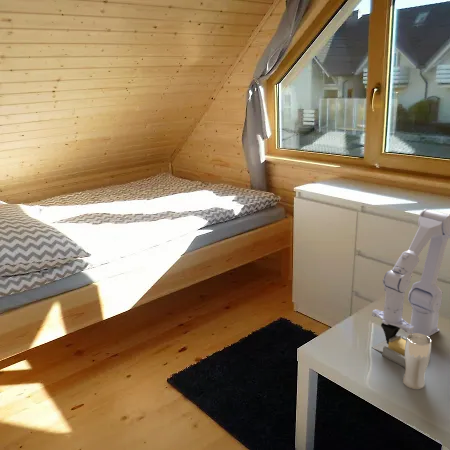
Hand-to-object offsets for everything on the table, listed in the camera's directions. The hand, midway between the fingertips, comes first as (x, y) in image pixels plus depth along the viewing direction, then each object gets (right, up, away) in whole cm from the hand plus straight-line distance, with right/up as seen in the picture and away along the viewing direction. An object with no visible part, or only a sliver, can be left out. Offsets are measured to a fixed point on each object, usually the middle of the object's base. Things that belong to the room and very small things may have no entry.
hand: (389, 342), depth 155 cm
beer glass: (+1, -8, -17) cm, 19 cm away
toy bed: (+3, -3, -4) cm, 5 cm away
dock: (+2, -3, -2) cm, 4 cm away
